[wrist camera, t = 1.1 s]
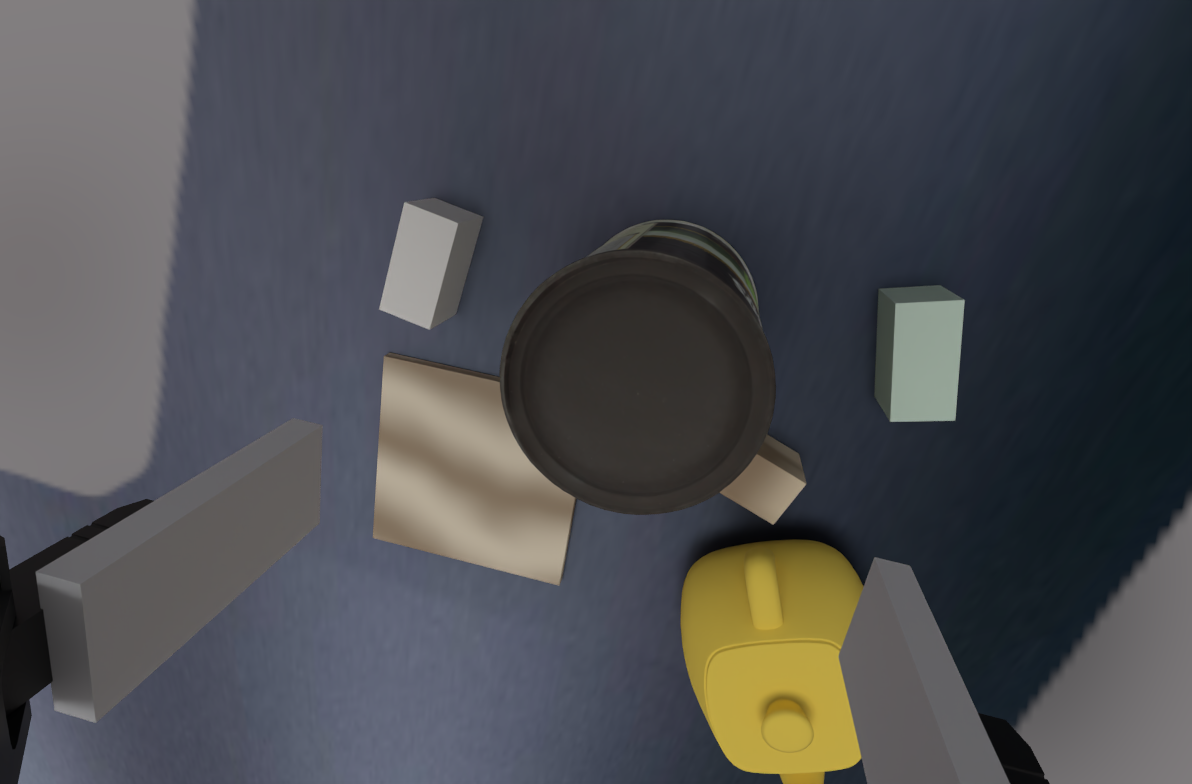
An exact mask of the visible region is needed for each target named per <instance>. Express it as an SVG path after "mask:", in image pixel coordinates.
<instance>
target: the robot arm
mask: <svg viewBox="0 0 1192 784" xmlns="http://www.w3.org/2000/svg"><path fill="white" fill-rule="evenodd" d="M321 455H322V425H319V424H315V423H311V422H307V421H303V420H298V419H294V418H293V419H291V420H289V421H288V422H286V423H284V424H283V425H281V426H279V427H278V428H276V429H274V430H273V431H271V432H269V433H268V434H266V435H264V436H263V437H261V438H259V439H258V440H256V441H254V442H253V443H251V444H249V445H247V446H246V447H244V448H242V449H241V450H239V451H237V452H236V453H234V454H232V455H231V456H229V457H227V458H226V459H224V460H222V461H221V462H219V463H217V464H216V465H214V466H212V467H211V468H209V469H207V470H206V471H204V472H202V473H200V474H199V475H197V476H195V477H194V478H192V479H190V480H189V481H187V482H185V483H184V484H182V485H180V486H179V487H177V488H175V489H174V490H172V491H170V492H169V493H167V494H165V495H164V496H162V497H160V498H159V499H157V500H155V501H152V500H149V499H145V500H142V501H139V502H135V503H132V504H129V505H126V506H123V507H120V508H117V509H115V510H113V511H111V512H109V513H108V514H106V515H104V516H102V517H101V518H99V519H97V520H95V521H94V522H92V524H91V526H88V525H87V526H85V527H83V528H81V529H80V530H78V531H76V532H74V533H73V534H72V536H71V537H66V538H64V539H62V540H60V541H59V542H57V543H55V544H53V545H52V546H50V547H48V548H46V549H45V550H43V551H41V552H39V553H38V554H36V555H34V556H32V557H31V558H29V559H27V560H25V561H24V562H22V563H20V564H18V565H17V566H15V567H13V568H11V569H10V570H9V565H8V559H7V552H6V546H5V539H4V538H3V537H2V536H0V784H18V779H19V774H20V769H21V765H22V760H23V755H24V750H25V745H26V740H27V735H28V730H29V726H30V721H31V716H32V715H31V708H30V701H29V699H30V698H32V697H33V696H34V695H35V694H37V693H38V692H39V691H41V690H42V689H43V688H44V687H46V686H47V685H48V684H50V683H51V687H52V695H53V702H54V709H55V711H58V712H61V713H65V714H68V715H71V716H75V717H78V718H81V719H85V720H88V721H91V722H94V723H96V722H97V721H99V720H100V719H101V718H102V717H103V716H104V715H105V714H106V713H108V712H109V711H110V710H111V709H112V708H113V707H114V706H115V705H116V704H118V703H119V702H120V701H121V700H122V699H123V698H124V697H125V696H127V695H128V694H129V693H130V692H131V691H132V690H133V689H134V688H135V687H137V686H138V685H139V684H140V683H141V682H142V681H143V680H144V679H146V678H147V677H148V676H149V675H150V674H151V673H152V672H153V671H155V670H156V669H157V668H158V667H159V666H160V665H161V664H162V663H163V662H165V661H166V660H167V659H168V658H169V657H170V656H171V655H172V654H174V653H175V652H176V651H177V650H178V649H179V648H180V647H181V646H182V645H184V644H185V643H186V642H187V641H188V640H189V639H190V638H191V637H193V636H194V635H195V634H196V633H197V632H198V631H199V630H200V629H202V628H203V627H204V626H205V625H206V624H207V623H208V622H209V621H210V620H212V619H213V618H214V617H215V616H216V615H217V614H218V613H219V612H221V611H222V610H223V609H224V608H225V607H226V606H227V605H228V604H229V603H231V602H232V601H233V600H234V599H235V598H236V597H237V596H238V595H240V594H241V593H242V592H243V591H244V590H245V589H246V588H247V587H249V586H250V585H251V584H252V583H253V582H254V581H255V580H256V579H257V578H259V577H260V576H261V575H262V574H263V573H264V572H265V571H266V570H268V569H269V568H270V567H271V566H272V565H273V564H274V563H275V562H277V561H278V560H279V559H280V558H281V557H282V556H283V555H284V554H285V553H287V552H288V551H289V550H290V549H291V548H292V547H293V546H294V545H296V544H297V543H298V542H299V541H300V540H301V539H302V538H303V537H304V536H306V535H307V534H308V533H309V532H310V531H311V530H312V529H313V528H315V527H316V526H317V525H318V524H319V517H320V486H321ZM838 657H839V662H840V666H841V670H842V675H843V679H844V683H845V688H846V692H847V696H848V701H849V705H850V709H851V714H852V718H853V722H854V727H855V731H856V735H857V740H858V744H859V748H860V753H861V757H862V762H863V766H864V770H865V775H866V779H867V783H868V784H1049V782H1048V780H1046V779H1044V772H1043V770H1042V769H1041V767H1040V765H1039V763H1038V761H1037V759H1036V757H1035V756H1034V753H1033V751H1032V749H1031V747H1030V746H1029V745H1028V744H1027V743H1026V742H1025V741H1024V740H1023V739H1022V737H1021V736H1020V735H1019V734H1018V733H1017V732H1016V731H1015V730H1014V729H1013V728H1012V727H1011V725H1010V724H1009V723H1008V722H1007V721H1006V720H1003V719H999V718H995V717H992V716H988V715H984V714H980V713H977V711H976V709H975V706H974V704H973V702H972V700H971V698H970V695H969V693H968V691H967V689H966V687H965V685H964V682H963V680H962V678H961V676H960V674H959V672H958V669H957V667H956V665H955V663H954V661H953V658H952V656H951V654H950V652H949V650H948V648H947V645H946V643H945V641H944V639H943V637H942V634H941V632H940V630H939V628H938V626H937V624H936V621H935V619H934V617H933V615H932V613H931V610H930V608H929V606H928V604H927V602H926V600H925V597H924V595H923V593H922V591H921V589H920V587H919V584H918V582H917V580H916V578H915V576H914V573H913V571H912V569H911V567H910V566H909V565H905V564H901V563H896V562H892V561H888V560H884V559H880V558H875V557H874V560H873V563H872V565H871V568H870V571H869V574H868V576H867V579H866V582H865V585H864V587H863V590H862V593H861V595H860V598H859V601H858V604H857V606H856V609H855V612H854V615H853V617H852V620H851V623H850V626H849V628H848V631H847V634H846V637H845V639H844V642H843V645H842V647H841V650H840V653H839V656H838Z"/></svg>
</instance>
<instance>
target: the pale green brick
mask: <svg viewBox="0 0 1192 784" xmlns="http://www.w3.org/2000/svg"><path fill="white" fill-rule="evenodd" d="M963 313H964V299H962V298H960V297H959V296H957V295H955V294H954V293H952V292H950V291H949V290H947V289H946V288H944V287H942V286H941V285H935V286H917V287H899V288H881V289H878V315H877V341H876V368H875V395H874V397H875V398H876V400H877V401H878V403H879V405H880V406H881V408H882V409H883V411H884V413H885V414H886V416H887V418H888V419H889V421H890V422H909V421H955V417H956V404H957V391H958V378H959V365H960V352H961V339H962V326H963Z"/></svg>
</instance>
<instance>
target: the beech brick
mask: <svg viewBox="0 0 1192 784" xmlns="http://www.w3.org/2000/svg"><path fill="white" fill-rule="evenodd" d="M805 485H806V480H805V476H804V472H803V468H802V464H801V460H800V456H799V453H797V452H795V451H794V450H792V449H790V448H789V447H787V446H785V445H784V444H782V443H780V442H779V441H777V440H775V439H774V438H772V437H770V436H769V435H766V438H765V440H764V442H763V444H762V446H761V448H760V449H759V451H758V453H757V454H756V456H755V457H754V458H753V460H752V461H751V463H750V464H749V465H748V467H747V468H746V469H745V470H744V471H743V472H742V473H741V474H740V475H739V476H738V477H737V478H736V479H735V480H734V481H733V482H732V483H731V484H730V485H728V486H727V487H726V488H724V489H723V490H722V491H721V492H720V493H721V494H723V495H724V496H726V497H728V498H729V499H731V500H733V501H734V502H736V503H738V504H739V505H741V506H743V507H744V508H746V509H748V510H749V511H751V512H753V513H754V514H756V515H758V516H759V517H761V518H763V519H764V520H766V521H768V522H769V523H771V524H773V525H774V523H775V522H776V521H777V520H778V519H779V517H780V516H781V515H782V514H783V512H784V511H785V510H786V509H787V507H788V506H789V505H790V504H791V502H792V501H793V500H794V499H795V497H796V496H797V495H798V494H799V492H800V491H801V490H802V489H803V488H804V486H805Z"/></svg>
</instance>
